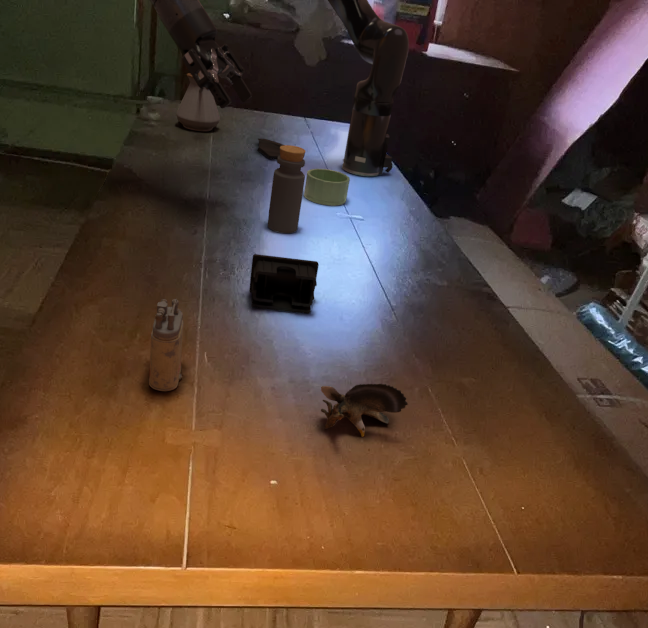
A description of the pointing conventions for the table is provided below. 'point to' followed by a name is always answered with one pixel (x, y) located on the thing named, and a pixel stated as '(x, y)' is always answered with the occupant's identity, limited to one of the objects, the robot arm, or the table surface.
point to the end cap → (283, 283)
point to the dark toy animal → (363, 403)
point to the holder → (326, 187)
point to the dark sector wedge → (269, 148)
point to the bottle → (287, 190)
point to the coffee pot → (198, 108)
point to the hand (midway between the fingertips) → (237, 102)
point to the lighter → (166, 347)
